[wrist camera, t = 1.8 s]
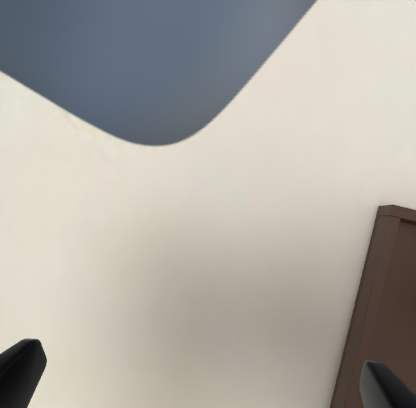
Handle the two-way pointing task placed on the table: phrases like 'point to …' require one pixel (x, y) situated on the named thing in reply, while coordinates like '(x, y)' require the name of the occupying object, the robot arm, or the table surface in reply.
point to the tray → (383, 307)
